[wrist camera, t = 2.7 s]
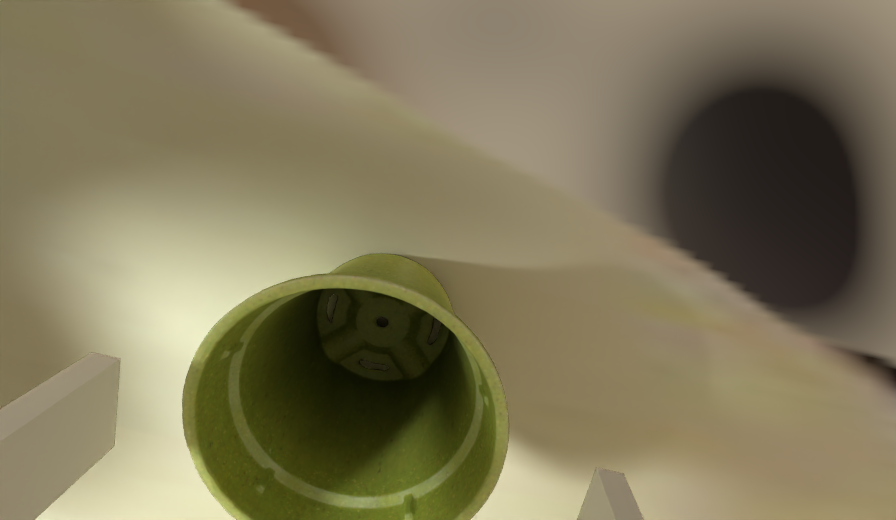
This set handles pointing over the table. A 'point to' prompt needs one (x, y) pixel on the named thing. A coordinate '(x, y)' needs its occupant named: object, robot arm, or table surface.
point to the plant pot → (346, 401)
